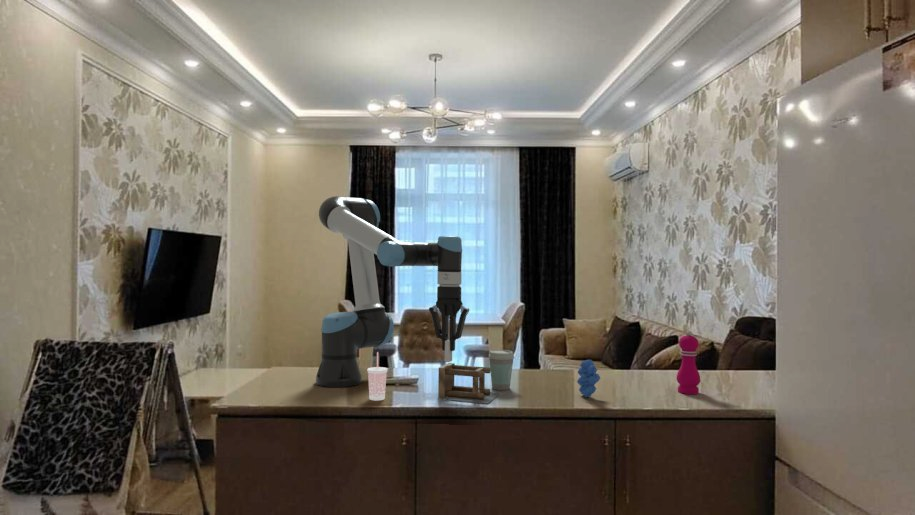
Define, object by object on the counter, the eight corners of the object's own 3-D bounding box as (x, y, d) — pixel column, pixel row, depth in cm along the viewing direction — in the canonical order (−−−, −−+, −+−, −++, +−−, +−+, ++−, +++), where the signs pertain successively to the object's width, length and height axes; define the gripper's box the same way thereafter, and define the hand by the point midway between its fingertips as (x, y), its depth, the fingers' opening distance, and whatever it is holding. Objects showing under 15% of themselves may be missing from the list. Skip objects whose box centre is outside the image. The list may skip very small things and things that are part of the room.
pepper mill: (699, 390, 193) (700, 329, 193) (700, 395, 186) (701, 332, 186) (675, 389, 195) (676, 328, 195) (676, 393, 188) (677, 331, 188)
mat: (443, 399, 177) (443, 398, 177) (458, 390, 190) (458, 389, 190) (488, 404, 172) (488, 403, 172) (500, 393, 185) (500, 392, 185)
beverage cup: (389, 396, 180) (390, 351, 180) (383, 401, 174) (384, 354, 174) (370, 395, 181) (371, 350, 181) (364, 400, 175) (364, 353, 175)
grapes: (608, 401, 177) (608, 361, 177) (586, 402, 176) (587, 362, 176) (592, 392, 189) (593, 355, 188) (572, 393, 187) (573, 355, 187)
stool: (438, 367, 180) (482, 371, 175) (448, 362, 189) (490, 366, 184) (438, 397, 180) (482, 401, 175) (448, 390, 189) (490, 394, 184)
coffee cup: (512, 391, 189) (512, 354, 189) (486, 390, 190) (486, 353, 190) (515, 386, 197) (515, 350, 197) (489, 384, 199) (490, 349, 199)
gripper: (425, 285, 182) (424, 361, 182) (465, 286, 178) (464, 364, 178) (434, 284, 189) (433, 357, 189) (472, 285, 185) (472, 360, 185)
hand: (448, 361), depth 184 cm, fingers closed
